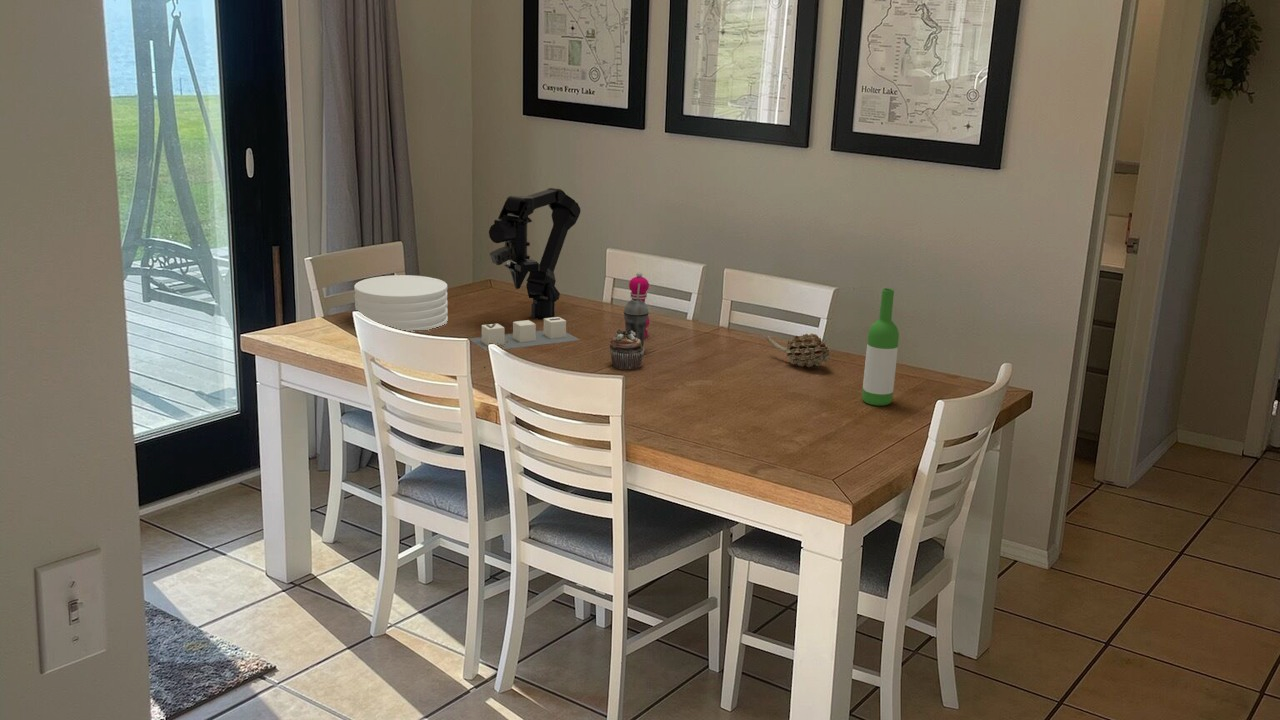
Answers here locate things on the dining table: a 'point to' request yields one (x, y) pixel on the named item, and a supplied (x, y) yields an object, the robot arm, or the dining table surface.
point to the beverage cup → (636, 317)
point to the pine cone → (805, 350)
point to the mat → (514, 343)
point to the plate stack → (403, 301)
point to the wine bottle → (881, 355)
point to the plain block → (524, 331)
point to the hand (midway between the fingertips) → (517, 288)
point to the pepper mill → (642, 291)
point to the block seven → (493, 334)
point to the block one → (554, 327)
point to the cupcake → (626, 350)
